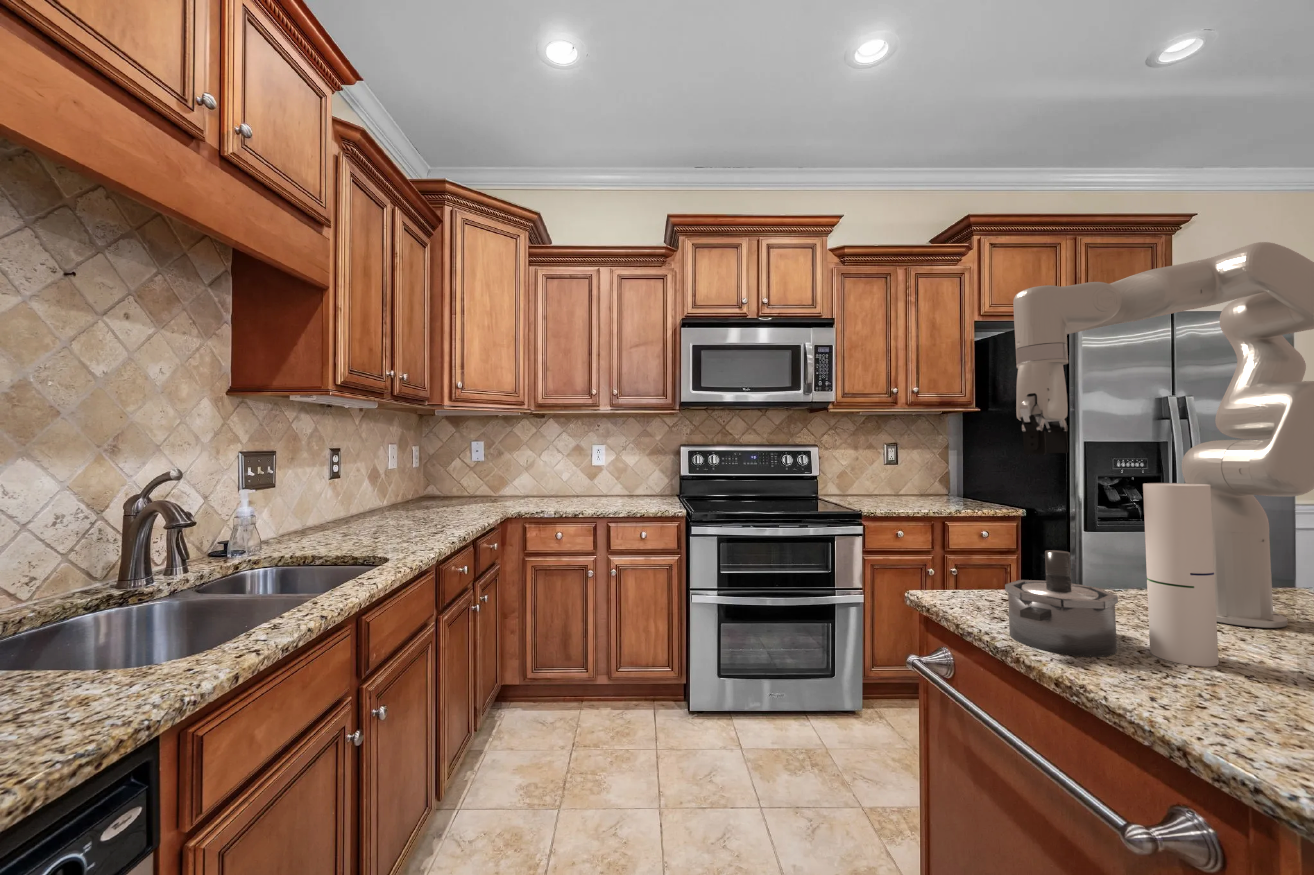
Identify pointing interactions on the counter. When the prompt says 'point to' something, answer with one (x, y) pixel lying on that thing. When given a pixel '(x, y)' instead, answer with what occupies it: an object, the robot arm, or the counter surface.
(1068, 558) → the lid
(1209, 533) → the cylindrical container
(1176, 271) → the robot arm
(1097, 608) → the pot
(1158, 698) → the counter surface
